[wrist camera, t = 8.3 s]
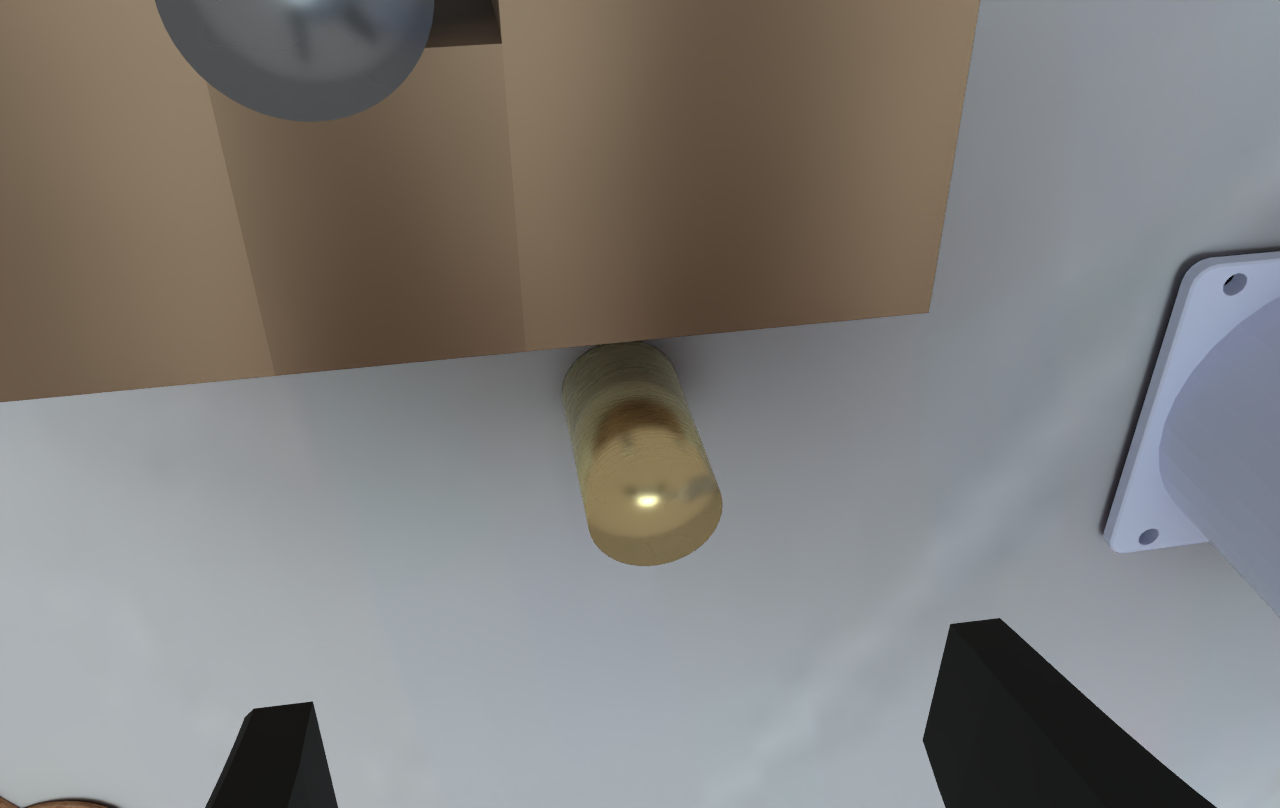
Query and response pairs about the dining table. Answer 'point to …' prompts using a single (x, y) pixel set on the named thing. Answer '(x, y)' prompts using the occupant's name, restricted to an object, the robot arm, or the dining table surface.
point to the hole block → (469, 188)
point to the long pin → (301, 51)
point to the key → (54, 804)
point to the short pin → (638, 455)
